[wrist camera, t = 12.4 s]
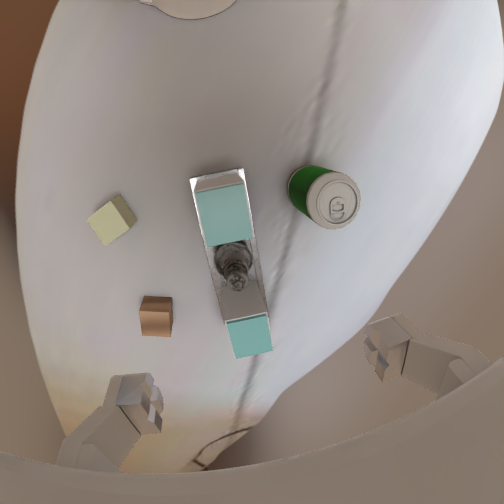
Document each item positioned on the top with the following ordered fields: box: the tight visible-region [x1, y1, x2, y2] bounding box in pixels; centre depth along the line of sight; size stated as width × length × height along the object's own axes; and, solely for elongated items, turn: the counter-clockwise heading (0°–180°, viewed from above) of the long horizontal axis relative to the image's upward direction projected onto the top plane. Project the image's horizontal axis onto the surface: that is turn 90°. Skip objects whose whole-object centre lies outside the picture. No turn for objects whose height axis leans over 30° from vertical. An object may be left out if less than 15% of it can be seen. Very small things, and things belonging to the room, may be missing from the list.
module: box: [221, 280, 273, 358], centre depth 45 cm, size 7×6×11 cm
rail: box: [190, 168, 269, 324], centre depth 47 cm, size 26×8×2 cm, turn 10°
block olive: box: [87, 195, 137, 246], centre depth 41 cm, size 5×5×5 cm
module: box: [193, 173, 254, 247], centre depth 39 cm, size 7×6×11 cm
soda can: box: [287, 166, 361, 229], centre depth 40 cm, size 8×8×12 cm
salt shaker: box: [214, 240, 253, 292], centre depth 41 cm, size 6×6×12 cm
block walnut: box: [139, 296, 173, 337], centre depth 48 cm, size 5×5×5 cm
